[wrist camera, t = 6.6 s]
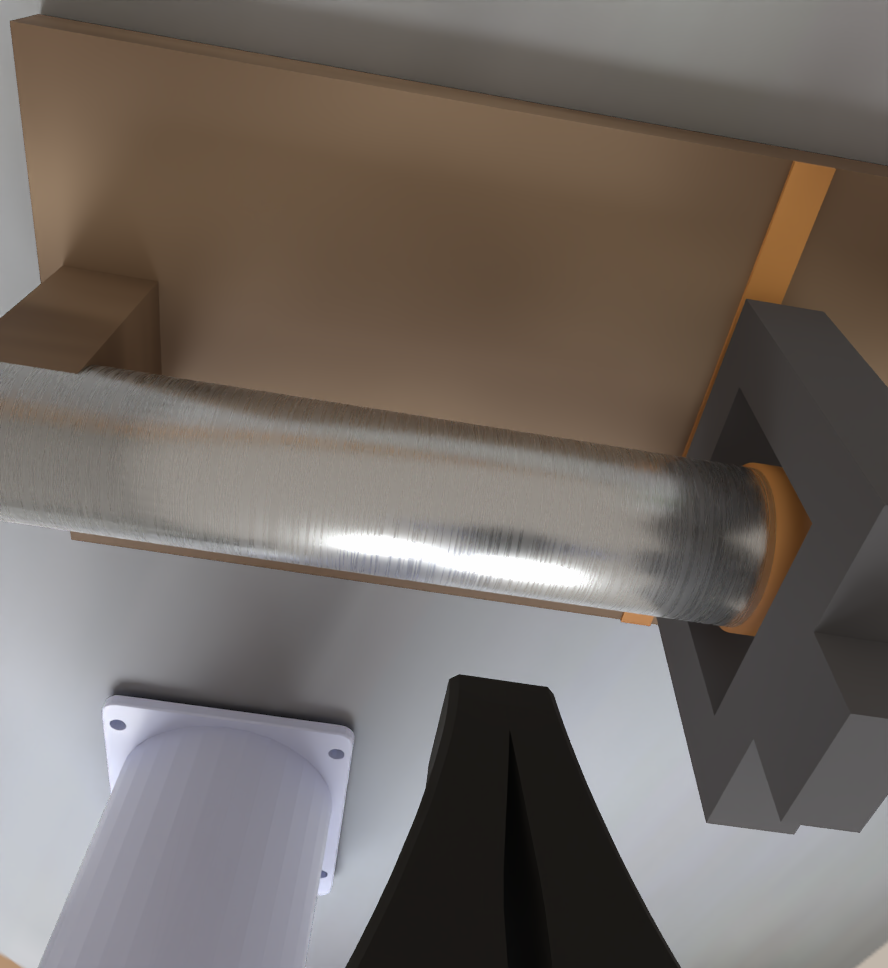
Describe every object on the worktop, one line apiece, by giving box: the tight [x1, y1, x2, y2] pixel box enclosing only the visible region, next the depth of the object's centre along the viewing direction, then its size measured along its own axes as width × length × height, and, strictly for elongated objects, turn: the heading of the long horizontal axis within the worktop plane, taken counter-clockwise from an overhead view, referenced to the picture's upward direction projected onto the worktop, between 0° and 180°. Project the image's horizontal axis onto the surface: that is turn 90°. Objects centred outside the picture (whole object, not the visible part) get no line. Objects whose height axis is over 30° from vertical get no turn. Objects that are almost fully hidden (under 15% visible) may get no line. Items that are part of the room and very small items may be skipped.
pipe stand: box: [0, 14, 888, 636], centre depth 17 cm, size 12×22×7 cm, turn 81°
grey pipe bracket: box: [656, 299, 888, 834], centre depth 15 cm, size 7×2×8 cm, turn 171°
